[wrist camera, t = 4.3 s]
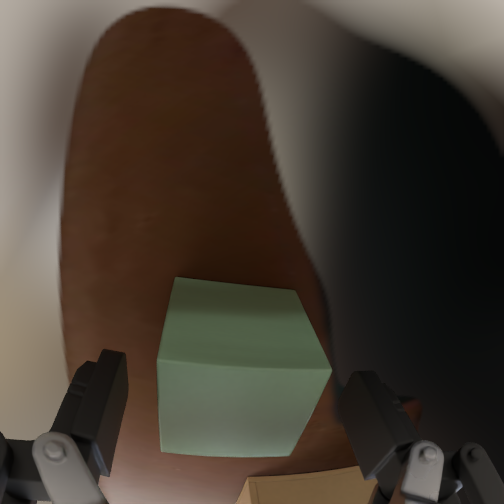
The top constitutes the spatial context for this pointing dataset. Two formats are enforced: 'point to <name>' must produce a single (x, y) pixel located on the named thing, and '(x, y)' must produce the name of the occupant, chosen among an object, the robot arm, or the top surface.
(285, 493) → the carton
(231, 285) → the block
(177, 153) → the top surface
